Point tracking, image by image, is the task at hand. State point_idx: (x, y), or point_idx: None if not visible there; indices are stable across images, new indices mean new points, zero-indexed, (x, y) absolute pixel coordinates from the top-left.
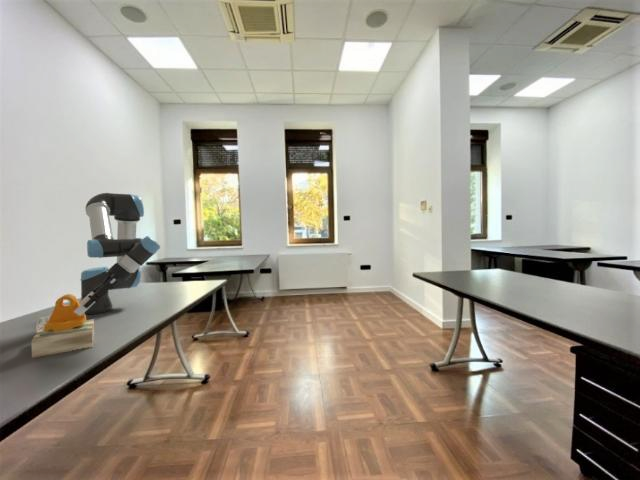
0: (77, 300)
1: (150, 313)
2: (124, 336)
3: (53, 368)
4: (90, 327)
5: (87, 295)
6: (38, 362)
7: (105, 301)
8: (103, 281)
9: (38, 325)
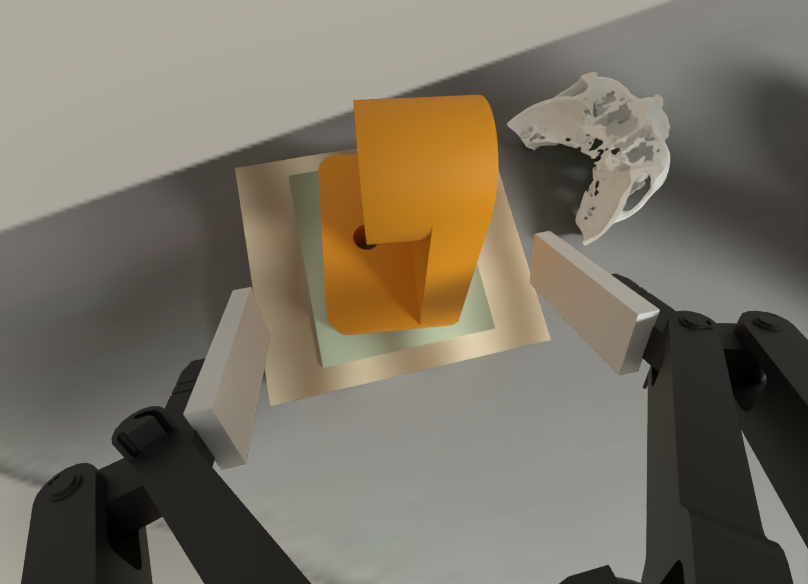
0: (477, 236)
1: None
2: (402, 519)
3: (86, 325)
4: (353, 375)
5: (595, 283)
6: (195, 247)
7: None
8: (692, 565)
9: (542, 103)
